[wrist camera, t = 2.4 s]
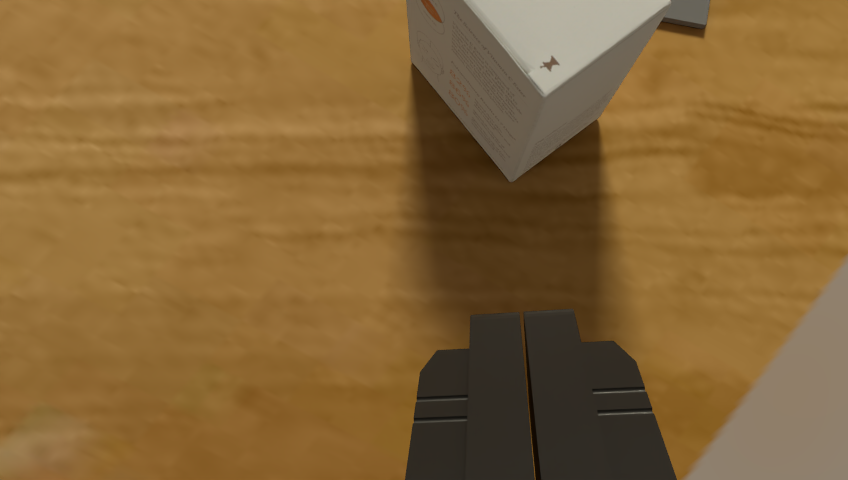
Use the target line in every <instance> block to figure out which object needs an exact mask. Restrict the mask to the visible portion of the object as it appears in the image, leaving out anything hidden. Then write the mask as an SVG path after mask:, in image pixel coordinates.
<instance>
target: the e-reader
mask: <svg viewBox="0 0 848 480" xmlns="http://www.w3.org/2000/svg"><path fill="white" fill-rule="evenodd" d="M671 2H672V3H671V5H670V7H669V9H668V11H667V13H666V14H665V16H664V17H663V19H662V21H663V22H668V23H674V24H679V25H684V26H690V27H695V28H700V29H703V28H704V27H705V26H706V23H707V16H708V9H709V2H710V0H671Z"/></svg>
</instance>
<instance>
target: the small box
mask: <svg viewBox="0 0 848 480" xmlns="http://www.w3.org/2000/svg"><path fill="white" fill-rule="evenodd" d="M671 3H672V2H671V0H406V4H407V17H408V28H409V41H410V54H411V61H412V63H413V64H414V65H415V66H416V67H417V69H418V70H419V71H420V72H421V73H422V75H423V76H424V77H425V78H426V79H427V81H428V82H429V83H430V84H431V86H432V87H433V88H434V89H435V90H436V92H437V93H438V94H439V95H440V97H441V98H442V99H443V100H444V101H445V103H446V104H447V105H448V106H449V108H450V109H451V110H452V111H453V112H454V114H455V115H456V116H457V117H458V119H459V120H460V121H461V122H462V123H463V125H464V126H465V127H466V128H467V130H468V131H469V132H470V133H471V135H472V136H473V137H474V138H475V140H476V141H477V142H478V143H479V144H480V145H481V147H482V148H483V149H484V150H485V151H486V153H487V154H488V155H489V156H490V158H491V159H492V160H493V161H494V163H495V164H496V165H497V166H498V167H499V169H500V170H501V171H502V173H503V174H504V175H505V176H506V178H507V179H508V180H509V181H510V182H513V181H515V180H516V179H517V178H518V177H520V176H521V175H522V174H524V173H525V172H526V171H528V170H529V169H530V168H532V167H533V166H534V165H536V164H537V163H538V162H540V161H541V160H543V159H544V158H545V157H547V156H548V155H549V154H551V153H552V152H553V151H555V150H556V149H557V148H559V147H560V146H561V145H563V144H564V143H565V142H567V141H568V140H569V139H571V138H572V137H573V136H575V135H576V134H577V133H579V132H580V131H581V130H583V129H584V128H585V127H587V126H588V125H589V124H591V123H592V122H593V121H595V120H596V119H597V118H599V117H600V116H601V114H602V112H603V111H604V109H605V108H606V106H607V105H608V103H609V102H610V100H611V99H612V97H613V96H614V94H615V92H616V91H617V89H618V88H619V86H620V85H621V83H622V81H623V80H624V78H625V77H626V75H627V74H628V72H629V71H630V69H631V67H632V66H633V64H634V63H635V61H636V59H637V58H638V56H639V55H640V53H641V52H642V50H643V48H644V47H645V46H646V44H647V43H648V41H649V40H650V38H651V36H652V35H653V33H654V32H655V30H656V29H657V27H658V25H659V24H660V22H661V21H662V19H663V17H664V16H665V14H666V13H667V11H668V9H669V7H670V5H671Z"/></svg>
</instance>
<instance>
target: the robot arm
mask: <svg viewBox="0 0 848 480" xmlns="http://www.w3.org/2000/svg"><path fill="white" fill-rule="evenodd" d="M524 331H525V347H526V363H527V378H528V394H529V408H530V422H531V434H532V445H533V455H534V466H535V477H536V480H677V478H676V476H675V473H674V470H673V467H672V464H671V461H670V458H669V455H668V453H667V450H666V447H665V444H664V441H663V438H662V435H661V432H660V430H659V427H658V424H657V421H656V418H655V415H654V413H652V406H651V404H650V401H649V398H648V395H647V392H645V386H644V383H643V381H642V378H641V375H640V372H639V369H638V366H637V363H636V361H635V360H634V359H633V358H632V357H630V356H629V355H628V354H627V353H626V352H625V351H624V350H623V349H622V348H621V347H620V346H618V345H617V344H616V343H615V342H614V341H601V342H582V343H581V339H580V335H579V331H578V327H577V322H576V318H575V314H574V310H573V309H562V310H545V311H528V312H524ZM532 445H531V435H530V424H529V413H528V402H527V391H526V380H525V369H524V359H523V348H522V337H521V326H520V315H519V312H514V313H497V314H479V315H471V317H470V346H469V349H453V350H437V351H436V353H435V354H434V355H433V356H432V358H431V359H430V360H429V361H428V363H427V364H426V365H425V367H424V368H423V369H422V370H421V372H420V377H419V384H418V391H417V402H416V406H415V413H414V423H413V427H412V434H411V441H410V448H409V456H408V463H407V470H406V477H405V480H535V478H534V467H533V456H532Z"/></svg>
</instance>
